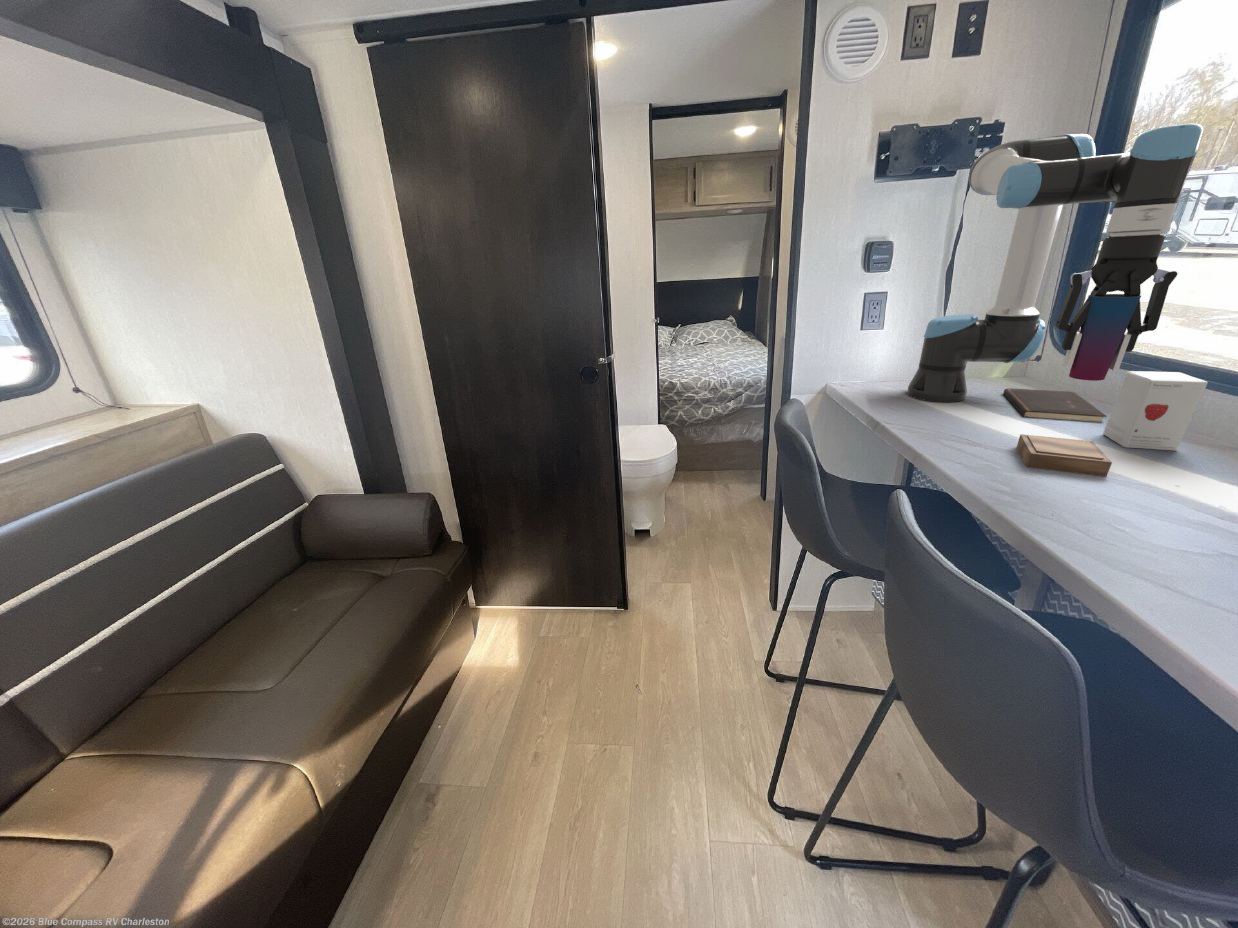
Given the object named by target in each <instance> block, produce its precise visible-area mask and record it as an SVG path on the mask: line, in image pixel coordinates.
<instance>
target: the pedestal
mask: <svg viewBox="0 0 1238 928" xmlns="http://www.w3.org/2000/svg"><path fill="white" fill-rule="evenodd" d="M1016 448H1017V450H1018V453H1019V455H1020V457H1021V458H1022V459H1023V462H1024V464H1025V466H1026V468H1033V469H1041V470H1048V471H1049V470H1050V471H1055V472H1056V471H1057V472H1067V473H1072V474H1080V475H1091V476H1096V477H1097V476H1099V477H1107V476H1108V474H1109V471H1110V468H1111V466H1112V464H1113V461H1111V459H1110V458H1109V457H1108V456H1107V455H1106V454H1105V453H1104V452H1103V450H1102V449H1100V447H1099V446H1098V445H1097V444H1096V443H1095V442H1094V441H1092V440H1085V439H1084V440H1083V439H1082V440H1081V439H1073V438H1062V437H1051V436H1042V435H1032V434H1031V435H1030V434H1024V433H1023V434H1019V438H1018V441H1017V443H1016Z"/></svg>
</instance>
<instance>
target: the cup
mask: <svg viewBox="0 0 1238 928" xmlns="http://www.w3.org/2000/svg"><path fill="white" fill-rule="evenodd" d="M1141 298H1142V295H1141V294H1140V296H1136V297H1125V295H1124V293H1106V295H1105V296H1104V297H1096V296H1090V294H1089V295H1088V296H1087V299H1088V300H1087V299H1086V300H1087V301H1088V302H1089V301H1090V300H1091V299H1092V301H1091V305H1090V309H1089V313H1088V317H1087V319H1086V320H1085V322H1084V323H1083V325H1082V326H1081V327H1080V329H1079V333H1081V334H1082V337H1081V340H1080V343H1079V346H1078V349H1077V352H1076V355H1075V358H1074V361H1073V364H1072V367H1071V369H1069V370H1070V371H1069V374H1068V377H1069V378H1072V379H1075V380H1081V381H1091V382H1092V381H1096V382H1097V381H1103V380H1105V378H1106V377H1107V374H1108V372H1109V370H1110V365H1111V363H1112V361H1113V359H1114V356H1115V354H1116V352H1117V350H1118V347H1119V345H1120V343H1121V341H1122V338H1123V336H1124V334H1125V333H1127V327H1128V325H1129V323H1130V320H1131V318H1132V315H1133V313H1134V311H1135V309H1136V306H1137V304H1138V302H1139V300H1140V301H1141Z"/></svg>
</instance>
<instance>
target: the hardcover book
mask: <svg viewBox="0 0 1238 928" xmlns="http://www.w3.org/2000/svg"><path fill="white" fill-rule="evenodd" d="M1002 394H1003V396H1005V398H1006V399H1007V400H1008V401H1009V402H1010V403H1011V404H1012V406H1013V407H1014V408H1015V409H1016V410H1017V411H1018V413H1019V414H1021V416H1022V417H1023V416H1028V417H1027V418H1039V419H1040V418H1041V419H1054V420H1056V419H1057V420H1070V421H1085V422H1096V423H1097V422H1100V423H1101V422H1102V423H1103V419H1104V418H1107V414H1105V413H1104V412H1102V411H1100V410H1099V409H1098V408H1097V407H1095V406H1094V405H1093V404H1091V403H1090V402H1089V401H1087V400H1086V399H1084V398H1083V397H1082V396H1080V395H1079V394H1077V393H1076V392H1075V391H1066V390H1049V389H1048V390H1047V389H1046V390H1045V389H1044V390H1043V389H1029V388H1028V389H1025V388H1011V387H1008V388H1005V389H1004V390H1003V393H1002Z"/></svg>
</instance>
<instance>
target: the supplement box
mask: <svg viewBox="0 0 1238 928" xmlns="http://www.w3.org/2000/svg"><path fill="white" fill-rule="evenodd" d="M1207 386H1208V381H1206V380H1204V379H1201V378H1198V377H1195V376H1191V375H1190V374H1186V373H1184V372H1179V371H1146V370H1145V371H1141V370H1138V371H1137V370H1136V371H1135V370H1127V371H1126V373H1125V376H1124V379H1123V380H1122V384H1121V386H1120V388H1119V390H1118V393H1117V397H1116V399H1115V401H1114V404H1113V406H1112V409H1111V411H1110V414H1109V416H1108V419H1107V422H1106V425H1105V426H1104V430H1103V433H1102V435H1104V436H1106V437H1108V438H1109V439H1111V440H1112V441H1113V442H1115V443H1116V444H1118V445H1120V446H1122V447H1123V448H1129V449H1143V450H1146V449H1148V450H1160V451H1176V452H1177V451H1178V448H1179V447H1180V445H1181V442H1182V440H1183V437H1184V436H1185V433H1186V432H1187V429H1188V426H1189V425H1190V423H1191V421H1192V418H1193V416H1194V413H1195V411H1196V409H1197V407H1198V405H1199V402H1200V401H1201V398H1202V396H1203V394H1204V392H1205V390H1206V388H1207Z"/></svg>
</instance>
